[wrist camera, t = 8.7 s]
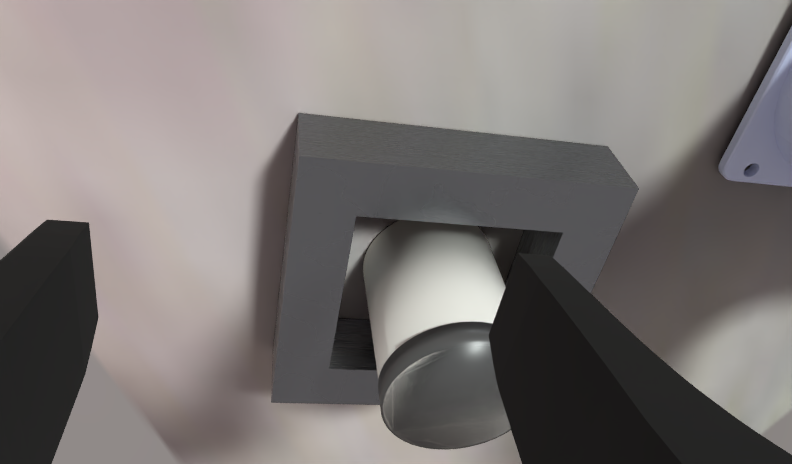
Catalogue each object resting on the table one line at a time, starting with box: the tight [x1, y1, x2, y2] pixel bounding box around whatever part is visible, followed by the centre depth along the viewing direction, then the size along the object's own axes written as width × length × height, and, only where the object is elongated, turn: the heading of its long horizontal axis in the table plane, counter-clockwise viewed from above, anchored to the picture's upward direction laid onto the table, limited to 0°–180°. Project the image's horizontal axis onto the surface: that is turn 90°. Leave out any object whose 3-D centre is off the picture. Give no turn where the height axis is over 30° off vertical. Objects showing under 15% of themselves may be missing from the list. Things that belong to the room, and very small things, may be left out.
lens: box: [363, 220, 511, 449], centre depth 22 cm, size 5×5×6 cm
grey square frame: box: [271, 113, 639, 405], centre depth 23 cm, size 10×10×2 cm
